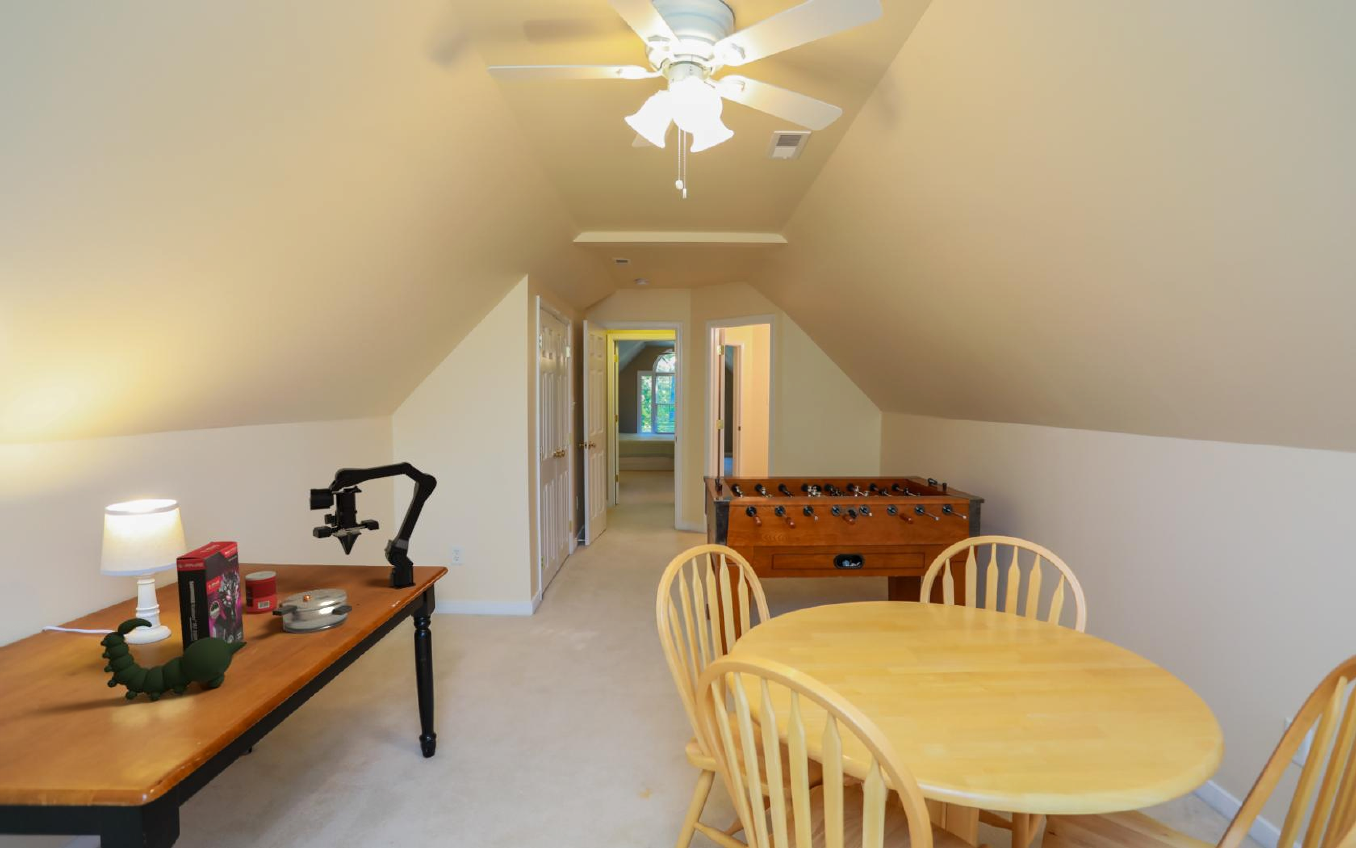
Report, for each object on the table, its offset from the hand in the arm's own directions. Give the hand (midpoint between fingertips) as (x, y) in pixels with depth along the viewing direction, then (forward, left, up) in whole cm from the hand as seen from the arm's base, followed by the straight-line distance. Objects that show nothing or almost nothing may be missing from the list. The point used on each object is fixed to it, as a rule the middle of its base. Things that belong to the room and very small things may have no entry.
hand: (347, 554), depth 212 cm
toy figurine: (+52, +46, -13) cm, 71 cm away
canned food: (+24, -3, -13) cm, 28 cm away
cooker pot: (+17, +21, -13) cm, 30 cm away
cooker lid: (+19, +22, -7) cm, 30 cm away
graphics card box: (+42, +27, -13) cm, 52 cm away
